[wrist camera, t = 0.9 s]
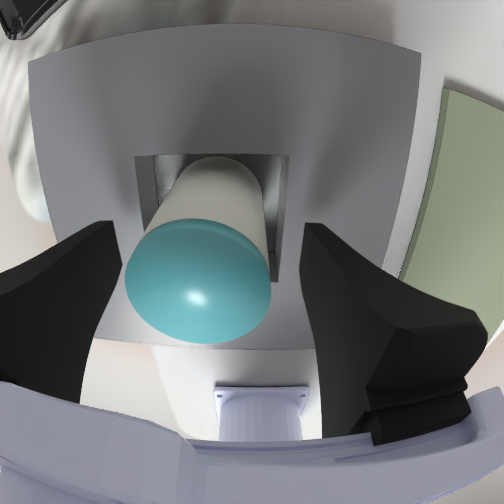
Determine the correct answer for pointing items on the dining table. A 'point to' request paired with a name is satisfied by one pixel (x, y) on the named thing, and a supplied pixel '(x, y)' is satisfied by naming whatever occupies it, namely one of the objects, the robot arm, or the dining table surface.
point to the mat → (463, 212)
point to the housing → (227, 142)
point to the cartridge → (204, 256)
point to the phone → (25, 16)
